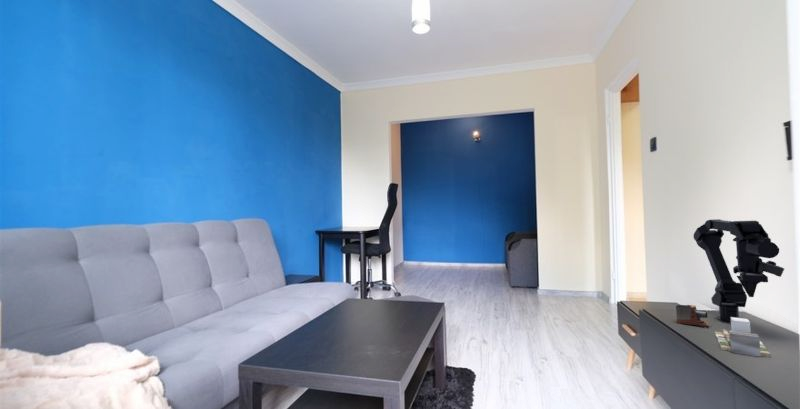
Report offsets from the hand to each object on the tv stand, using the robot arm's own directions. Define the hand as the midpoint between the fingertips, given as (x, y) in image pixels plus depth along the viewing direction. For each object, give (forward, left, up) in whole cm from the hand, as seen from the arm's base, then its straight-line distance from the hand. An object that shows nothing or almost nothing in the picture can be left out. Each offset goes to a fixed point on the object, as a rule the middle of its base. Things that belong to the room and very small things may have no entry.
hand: (751, 296), depth 122 cm
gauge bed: (+16, -8, -13) cm, 23 cm away
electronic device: (-3, -17, -13) cm, 21 cm away
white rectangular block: (+18, -10, -12) cm, 24 cm away
